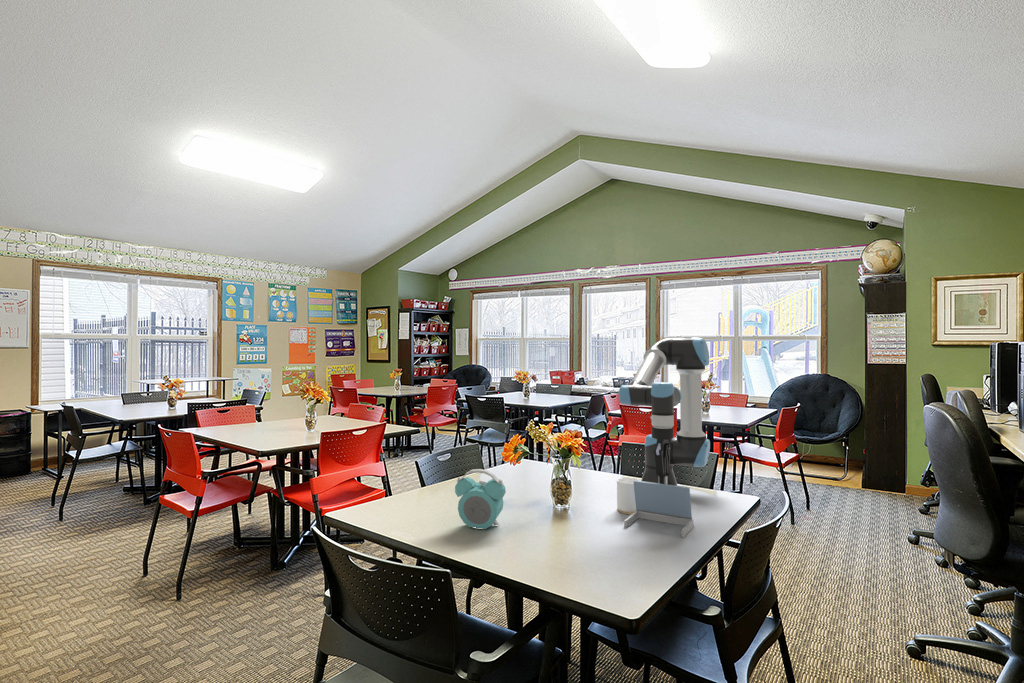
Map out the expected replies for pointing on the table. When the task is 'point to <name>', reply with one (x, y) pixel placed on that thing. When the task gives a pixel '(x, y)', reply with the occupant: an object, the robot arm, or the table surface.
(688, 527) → the bracket
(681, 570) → the table surface
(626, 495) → the mug
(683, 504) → the cover
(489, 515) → the alarm clock
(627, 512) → the coaster
